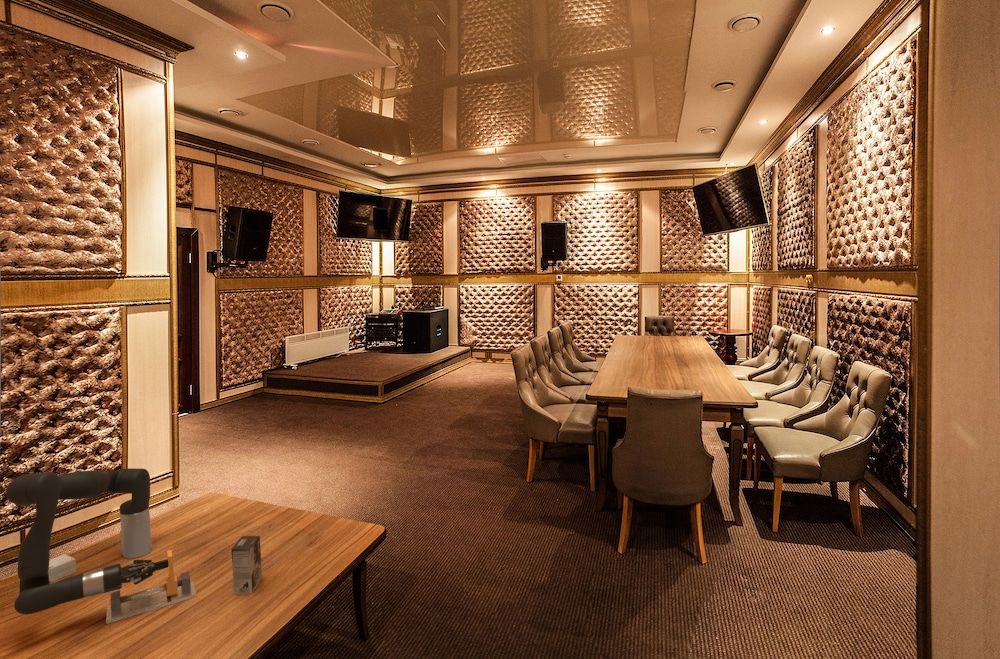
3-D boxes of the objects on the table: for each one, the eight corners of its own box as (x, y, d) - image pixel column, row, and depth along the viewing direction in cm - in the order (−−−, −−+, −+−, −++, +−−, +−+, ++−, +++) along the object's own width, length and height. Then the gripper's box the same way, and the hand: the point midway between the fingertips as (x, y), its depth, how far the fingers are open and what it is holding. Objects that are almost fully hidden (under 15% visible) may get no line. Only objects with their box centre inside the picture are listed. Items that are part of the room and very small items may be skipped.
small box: (65, 566, 193) (64, 553, 193) (77, 571, 190) (75, 558, 189) (39, 577, 187) (38, 563, 186) (50, 583, 183) (49, 569, 183)
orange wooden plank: (167, 596, 172) (164, 558, 170) (166, 589, 176) (163, 551, 174) (178, 593, 173) (175, 555, 172) (177, 586, 177) (174, 548, 176)
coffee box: (243, 579, 185) (241, 535, 183) (262, 578, 185) (260, 534, 184) (232, 595, 176) (230, 549, 174) (252, 594, 176) (250, 548, 175)
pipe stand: (106, 624, 161) (104, 605, 160) (107, 609, 168) (105, 591, 168) (196, 596, 175) (195, 579, 174) (193, 583, 182) (192, 567, 181)
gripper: (100, 578, 158) (168, 561, 167) (102, 559, 168) (166, 544, 178) (102, 602, 158) (170, 583, 168) (104, 581, 169) (167, 565, 179)
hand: (168, 563), depth 173 cm, fingers closed
